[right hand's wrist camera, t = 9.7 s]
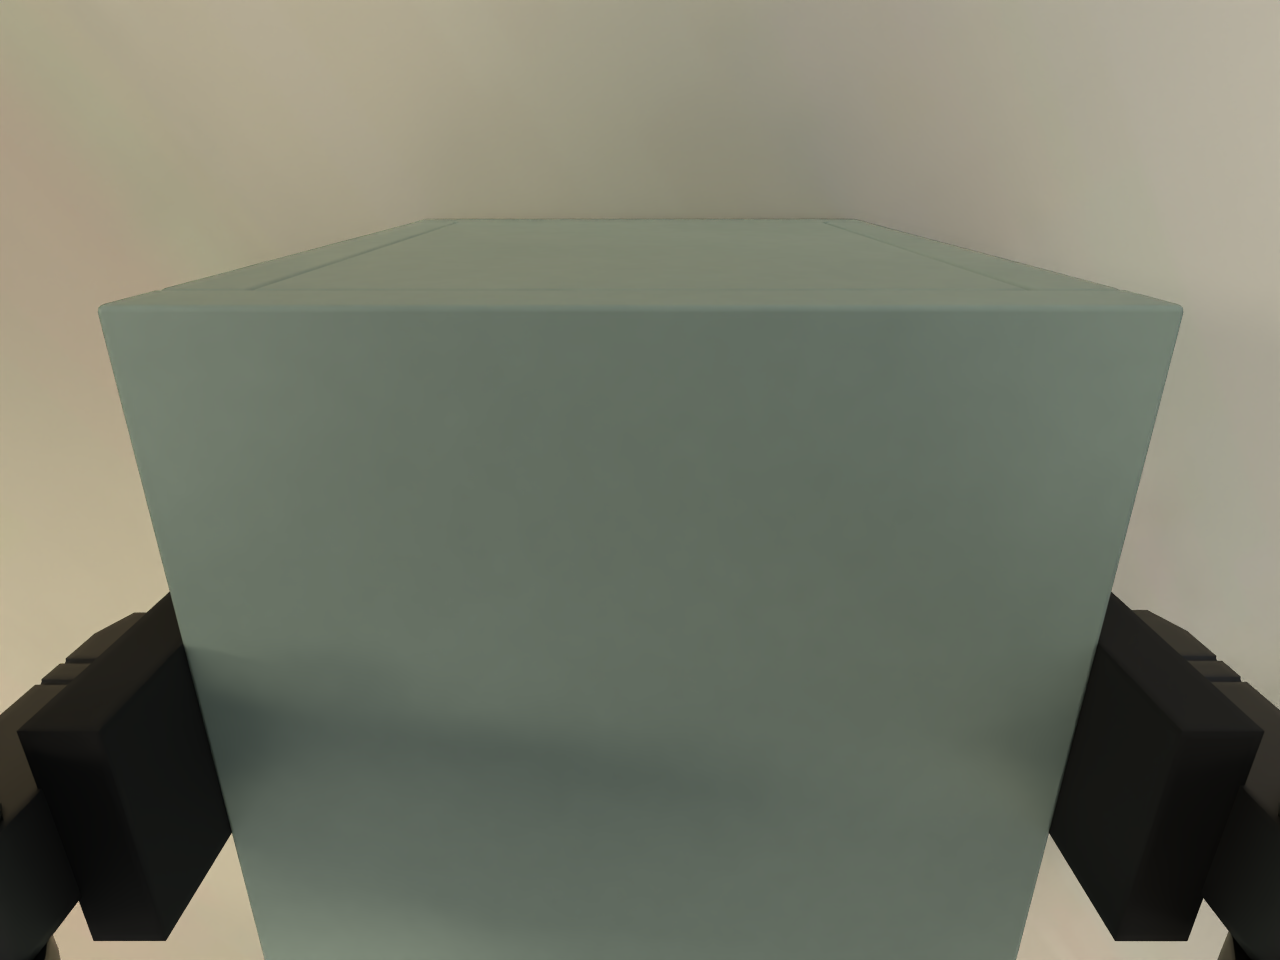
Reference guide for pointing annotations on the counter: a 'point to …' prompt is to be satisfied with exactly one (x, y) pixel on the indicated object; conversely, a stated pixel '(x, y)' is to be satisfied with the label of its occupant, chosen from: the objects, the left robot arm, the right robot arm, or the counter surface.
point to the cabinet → (640, 579)
